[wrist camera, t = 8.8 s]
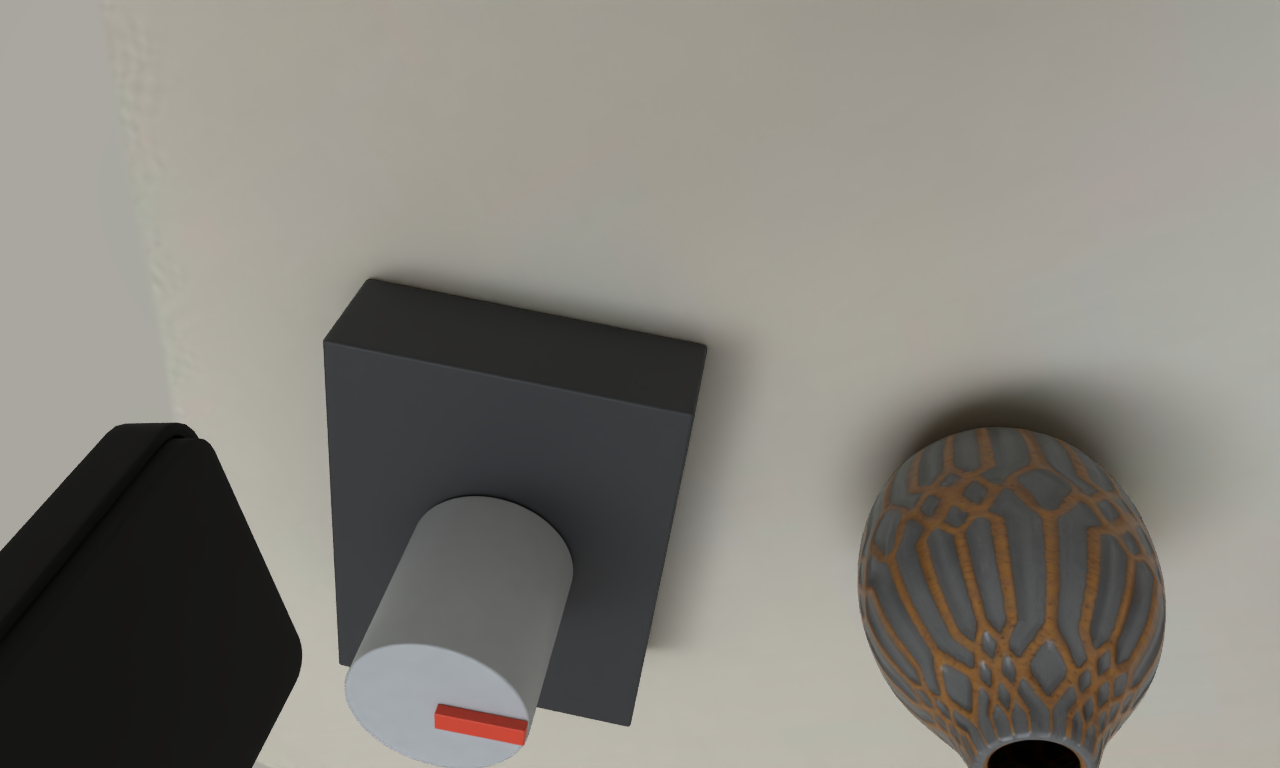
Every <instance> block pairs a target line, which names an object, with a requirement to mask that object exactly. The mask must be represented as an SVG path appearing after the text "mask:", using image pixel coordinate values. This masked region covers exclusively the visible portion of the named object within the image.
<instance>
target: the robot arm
mask: <svg viewBox="0 0 1280 768" xmlns="http://www.w3.org/2000/svg"><path fill="white" fill-rule="evenodd" d="M301 664H302V648H301V643H300V639H299V637H298V634H297V632H296V630H295V628H294V625H293V623H292V621H291V619H290V617H289V614H288V612H287V610H286V608H285V606H284V603H283V601H282V599H281V597H280V594H279V592H278V590H277V588H276V586H275V583H274V581H273V579H272V577H271V575H270V572H269V570H268V568H267V566H266V564H265V561H264V559H263V557H262V555H261V552H260V550H259V548H258V546H257V544H256V541H255V539H254V537H253V535H252V533H251V530H250V528H249V526H248V524H247V521H246V519H245V517H244V515H243V513H242V510H241V508H240V506H239V504H238V502H237V499H236V497H235V495H234V493H233V490H232V488H231V486H230V484H229V482H228V479H227V477H226V475H225V473H224V471H223V468H222V466H221V464H220V462H219V459H218V457H217V455H216V453H215V451H214V449H213V448H212V446H211V444H209V443H208V442H207V441H206V440H204V439H199V438H198V437H197V435H196V433H195V432H194V431H193V430H192V429H191V428H190V427H188V426H187V425H185V424H181V423H139V424H138V423H136V424H122V425H119V426H116V427H114V428H113V429H112V430H110V431H109V432H108V433H107V434H106V435H105V436H104V437H103V438H102V439H101V440H100V441H99V443H98V444H97V445H96V446H95V447H94V448H93V449H92V450H91V451H90V453H89V454H88V455H87V456H86V457H85V458H84V459H83V460H82V462H81V463H80V464H79V465H78V466H77V467H76V468H75V469H74V470H73V471H72V473H71V474H70V475H69V476H68V477H67V478H66V479H65V480H64V481H63V482H62V484H61V485H60V486H59V487H58V488H57V489H56V490H55V492H54V493H53V494H52V495H51V496H50V497H49V498H48V499H47V500H46V502H44V504H43V505H42V506H41V507H40V508H39V509H38V510H37V511H36V512H35V514H34V515H33V516H32V517H31V518H30V519H29V520H28V522H26V524H25V525H24V526H23V527H22V528H21V529H20V530H19V531H18V532H17V534H16V535H15V536H14V537H13V538H12V539H11V540H10V541H9V543H7V545H6V546H5V547H4V548H3V549H2V550H1V551H0V768H252V766H253V764H254V763H255V761H256V759H257V757H258V755H259V753H260V751H261V749H262V747H263V745H264V743H265V741H266V739H267V737H268V735H269V733H270V731H271V730H272V728H273V726H274V724H275V722H276V720H277V718H278V716H279V714H280V712H281V710H282V708H283V706H284V704H285V702H286V700H287V698H288V696H289V695H290V693H291V691H292V689H293V687H294V685H295V683H296V681H297V678H298V676H299V673H300V668H301Z"/></svg>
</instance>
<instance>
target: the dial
mask: <svg viewBox="0 0 1280 768" xmlns="http://www.w3.org/2000/svg"><path fill="white" fill-rule="evenodd" d="M572 578H573V563H572V558H571V555H570V552H569V549H568V548H567V546H566V544H565V542H564V540H563V539H562V538H561V536H560V535H559V534H558V532H557V531H556V530H555V529H554V528H553V527H552V526H551V525H550V524H549V523H547V522H546V521H545V520H544V519H542V518H541V517H540V516H538V515H537V514H535V513H533V512H532V511H530V510H528V509H526V508H524V507H522V506H520V505H517V504H515V503H512V502H509V501H506V500H502V499H497V498H492V497H484V496H468V497H460V498H454V499H451V500H448V501H445V502H442V503H440V504H438V505H436V506H435V507H433V508H432V509H430V510H429V511H428V512H427V513H426V514H425V515H424V516H423V517H422V518H421V519H420V521H419V522H418V524H417V526H416V528H415V530H414V532H413V534H412V537H411V539H410V541H409V543H408V545H407V547H406V549H405V551H404V554H403V556H402V558H401V560H400V562H399V564H398V566H397V568H396V571H395V573H394V575H393V577H392V579H391V581H390V583H389V585H388V588H387V590H386V592H385V594H384V596H383V598H382V600H381V602H380V605H379V607H378V609H377V611H376V613H375V615H374V617H373V619H372V622H371V624H370V626H369V628H368V630H367V632H366V634H365V636H364V639H363V641H362V643H361V645H360V647H359V649H358V651H357V653H356V656H355V658H354V660H353V662H352V664H351V666H350V668H349V671H348V673H347V675H346V679H345V695H346V700H347V702H348V705H349V708H350V709H351V711H352V713H353V715H354V716H355V718H356V719H357V720H358V722H359V723H360V724H361V725H362V726H363V727H364V728H365V730H366V731H368V732H369V733H370V734H371V735H372V736H373V737H374V738H376V739H377V740H379V741H380V742H381V743H383V744H384V745H386V746H388V747H389V748H391V749H393V750H394V751H396V752H398V753H400V754H402V755H405V756H407V757H410V758H412V759H414V760H418V761H421V762H424V763H427V764H431V765H436V766H441V767H447V768H481V767H486V766H491V765H494V764H497V763H500V762H502V761H504V760H506V759H508V758H510V757H511V756H513V755H514V754H515V753H516V752H517V751H518V750H519V749H520V748H521V747H522V746H524V744H525V742H526V740H527V737H528V735H529V732H530V728H531V724H532V721H533V717H534V714H535V710H536V707H537V703H538V700H539V696H540V693H541V689H542V686H543V682H544V678H545V675H546V671H547V668H548V664H549V661H550V657H551V654H552V650H553V647H554V643H555V640H556V636H557V632H558V629H559V625H560V622H561V618H562V615H563V611H564V608H565V604H566V601H567V597H568V594H569V590H570V586H571V583H572Z"/></svg>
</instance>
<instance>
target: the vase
mask: <svg viewBox="0 0 1280 768" xmlns="http://www.w3.org/2000/svg"><path fill="white" fill-rule="evenodd" d="M858 599H859V608H860V613H861V618H862V623H863V627H864V630H865V633H866V636H867V640H868V643H869V646H870V648H871V651H872V653H873V656H874V658H875V660H876V662H877V665H878V667H879V669H880V671H881V672H882V674H883V676H884V678H885V680H886V681H887V683H888V685H889V686H890V688H891V689H892V691H893V692H894V694H895V695H896V696H897V698H898V699H899V700H900V701H901V702H902V703H903V705H904V706H905V707H906V708H907V709H908V710H909V711H910V712H911V713H912V714H913V715H914V716H915V717H916V718H917V719H918V720H919V721H920V722H921V723H922V724H924V725H925V726H926V727H927V728H928V729H930V730H931V731H932V732H933V733H934V734H936V735H937V736H938V737H939V738H940V739H942V740H943V741H944V742H945V743H946V744H948V745H949V746H950V747H952V748H953V749H954V750H955V751H956V752H957V753H958V754H959V755H960V756H961V757H962V759H963V760H964V762H965V763H966V765H967V766H968V768H1099V764H1100V761H1101V757H1102V754H1103V751H1104V749H1105V747H1106V745H1107V743H1108V742H1109V741H1110V739H1111V738H1112V737H1113V736H1114V735H1115V734H1116V732H1117V731H1118V730H1119V729H1120V728H1121V726H1122V725H1123V724H1124V723H1125V721H1126V720H1127V719H1128V718H1129V716H1130V715H1131V714H1132V712H1133V711H1134V710H1135V709H1136V707H1137V706H1138V704H1139V703H1140V702H1141V700H1142V699H1143V697H1144V696H1145V694H1146V692H1147V690H1148V688H1149V686H1150V684H1151V682H1152V680H1153V678H1154V675H1155V673H1156V670H1157V667H1158V664H1159V660H1160V656H1161V652H1162V646H1163V641H1164V632H1165V621H1166V599H1165V590H1164V581H1163V576H1162V572H1161V568H1160V564H1159V560H1158V556H1157V554H1156V551H1155V548H1154V546H1153V543H1152V540H1151V538H1150V535H1149V532H1148V530H1147V528H1146V526H1145V524H1144V522H1143V520H1142V518H1141V516H1140V514H1139V512H1138V510H1137V509H1136V507H1135V505H1134V504H1133V503H1132V501H1131V500H1130V499H1129V497H1128V496H1127V495H1126V493H1125V492H1124V491H1123V489H1122V488H1121V487H1120V485H1119V484H1118V483H1117V482H1116V481H1115V480H1114V479H1113V478H1112V477H1111V476H1110V475H1109V474H1108V473H1107V472H1106V471H1105V470H1104V469H1103V468H1102V467H1101V466H1100V465H1099V464H1098V463H1096V462H1095V461H1094V460H1092V459H1091V458H1090V457H1088V456H1087V455H1085V454H1084V453H1083V452H1081V451H1080V450H1078V449H1077V448H1075V447H1073V446H1072V445H1070V444H1068V443H1066V442H1064V441H1062V440H1059V439H1057V438H1054V437H1051V436H1048V435H1045V434H1041V433H1038V432H1034V431H1030V430H1025V429H1019V428H1010V427H986V428H977V429H972V430H967V431H962V432H959V433H955V434H952V435H950V436H947V437H944V438H942V439H940V440H938V441H936V442H934V443H932V444H930V445H928V446H927V447H925V448H923V449H922V450H920V451H918V452H917V453H915V454H914V455H913V456H911V457H910V458H909V459H908V460H906V461H905V462H904V463H903V464H902V465H901V466H900V467H899V468H898V469H897V470H896V471H895V472H894V474H893V475H892V476H891V477H890V479H889V480H888V482H887V483H886V484H885V486H884V487H883V488H882V490H881V492H880V493H879V495H878V497H877V499H876V501H875V503H874V505H873V507H872V509H871V512H870V514H869V516H868V519H867V522H866V525H865V529H864V532H863V535H862V539H861V545H860V553H859V561H858Z"/></svg>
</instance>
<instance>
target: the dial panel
mask: <svg viewBox="0 0 1280 768" xmlns="http://www.w3.org/2000/svg"><path fill="white" fill-rule="evenodd" d="M323 348H324V368H325V388H326V407H327V427H328V447H329V467H330V487H331V507H332V527H333V547H334V567H335V586H336V606H337V626H338V646H339V664H341V665H344V666H349V667H350V666H351V664H352V662H353V660H354V658H355V656H356V653H357V651H358V649H359V647H360V645H361V643H362V641H363V639H364V636H365V634H366V632H367V630H368V628H369V626H370V624H371V622H372V619H373V617H374V615H375V613H376V611H377V609H378V607H379V605H380V602H381V600H382V598H383V596H384V594H385V592H386V590H387V588H388V585H389V583H390V581H391V579H392V577H393V575H394V573H395V571H396V568H397V566H398V564H399V562H400V560H401V558H402V556H403V554H404V551H405V549H406V547H407V545H408V543H409V541H410V539H411V537H412V534H413V532H414V530H415V528H416V526H417V524H418V522H419V521H420V519H421V518H422V517H423V516H424V515H425V514H426V513H427V512H428V511H429V510H430V509H432V508H433V507H435V506H436V505H438V504H440V503H442V502H445V501H448V500H451V499H454V498H460V497H468V496H484V497H492V498H497V499H502V500H506V501H509V502H512V503H515V504H517V505H520V506H522V507H524V508H526V509H528V510H530V511H532V512H533V513H535V514H537V515H538V516H540V517H541V518H542V519H544V520H545V521H546V522H547V523H549V524H550V525H551V526H552V527H553V528H554V529H555V530H556V531H557V532H558V534H559V535H560V536H561V538H562V539H563V540H564V542H565V544H566V546H567V548H568V549H569V552H570V555H571V558H572V563H573V578H572V583H571V586H570V590H569V594H568V597H567V601H566V604H565V608H564V611H563V615H562V618H561V622H560V625H559V629H558V632H557V636H556V640H555V643H554V647H553V650H552V654H551V657H550V661H549V664H548V668H547V671H546V675H545V678H544V682H543V686H542V689H541V693H540V696H539V700H538V703H537V707H539V708H544V709H548V710H553V711H558V712H562V713H567V714H571V715H576V716H581V717H585V718H590V719H595V720H599V721H604V722H609V723H613V724H618V725H623V726H627V727H628V726H630V725H631V720H632V715H633V711H634V706H635V701H636V696H637V691H638V687H639V682H640V677H641V672H642V667H643V662H644V658H645V653H646V648H647V643H648V638H649V633H650V629H651V624H652V619H653V614H654V609H655V605H656V600H657V595H658V590H659V585H660V580H661V576H662V571H663V566H664V561H665V556H666V552H667V547H668V542H669V537H670V532H671V527H672V523H673V518H674V513H675V508H676V503H677V498H678V494H679V489H680V484H681V479H682V474H683V470H684V465H685V460H686V455H687V450H688V445H689V441H690V436H691V431H692V426H693V421H694V417H695V411H696V406H697V401H698V395H699V390H700V385H701V379H702V374H703V369H704V363H705V358H706V353H707V347H706V346H704V345H699V344H694V343H689V342H684V341H679V340H674V339H668V338H663V337H658V336H653V335H648V334H643V333H638V332H633V331H628V330H623V329H618V328H613V327H608V326H603V325H598V324H593V323H588V322H583V321H578V320H573V319H568V318H562V317H557V316H552V315H547V314H542V313H537V312H532V311H527V310H522V309H517V308H512V307H507V306H502V305H497V304H492V303H487V302H482V301H477V300H472V299H467V298H462V297H456V296H451V295H446V294H441V293H436V292H431V291H426V290H421V289H416V288H411V287H406V286H401V285H396V284H391V283H386V282H381V281H376V280H371V279H368V280H366V281H365V283H364V284H363V286H362V287H361V288H360V290H359V291H358V293H357V294H356V295H355V297H354V298H353V300H352V301H351V302H350V304H349V305H348V307H347V308H346V309H345V311H344V312H343V313H342V315H341V316H340V318H339V319H338V320H337V322H336V323H335V325H334V326H333V327H332V329H331V330H330V332H329V333H328V334H327V336H326V337H325V339H324V340H323Z"/></svg>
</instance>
